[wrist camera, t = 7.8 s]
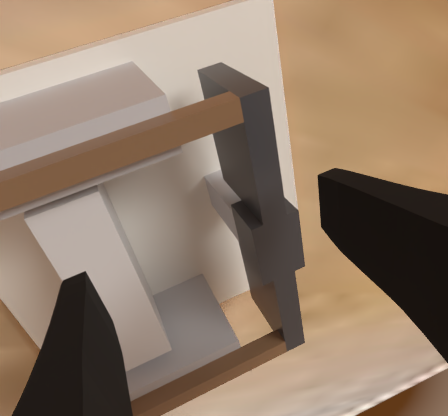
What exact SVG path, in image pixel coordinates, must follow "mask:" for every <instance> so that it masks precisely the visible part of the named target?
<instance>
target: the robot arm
mask: <svg viewBox="0 0 448 416" xmlns="http://www.w3.org/2000/svg"><path fill="white" fill-rule="evenodd" d="M318 187H319V202H320V217H321V227H322V229H323V230H324V231H325V233H326V234H327V235H328V236H329V238H330V239H331V240H332V242H333V243H334V244H335V245H336V246H337V247H338V249H339V250H340V251H341V252H342V253H343V254H344V255H345V256H346V257H347V258H348V259H349V260H350V261H351V262H353V263H354V264H355V265H356V266H357V267H358V268H359V269H360V270H361V271H362V272H363V273H364V274H365V275H366V276H368V277H369V278H370V279H371V280H372V281H373V282H374V283H375V284H376V285H377V286H378V287H379V288H381V289H382V290H383V291H384V292H385V293H386V294H387V295H388V296H389V297H390V298H391V299H392V300H393V301H394V302H395V303H396V304H397V305H398V306H399V307H400V308H401V309H402V310H403V311H404V312H405V313H406V314H407V315H408V317H409V318H410V319H411V320H412V321H413V322H414V323H415V325H416V326H417V327H418V328H419V329H420V330H421V331H422V333H423V334H424V335H425V336H426V337H427V339H428V340H429V341H430V342H431V343H432V345H433V346H434V347H435V348H436V349H437V351H438V352H439V353H440V354H441V355H442V357H443V358H444V359H445V360H446V362H447V363H448V195H447V194H442V193H437V192H432V191H427V190H422V189H418V188H414V187H409V186H405V185H401V184H397V183H393V182H389V181H386V180H382V179H378V178H374V177H370V176H367V175H363V174H359V173H355V172H351V171H347V170H343V169H337V168H334V169H331V170H329V171H326V172H324V173H321V174H319V175H318ZM12 416H133V413H132V407H131V401H130V395H129V389H128V383H127V377H126V371H125V365H124V359H123V354H122V350H121V346H120V343H119V339H118V336H117V333H116V329H115V326H114V323H113V320H112V318H111V316H110V314H109V312H108V311H107V309H106V307H105V305H104V303H103V302H102V300H101V298H100V296H99V294H98V292H97V291H96V289H95V287H94V285H93V283H92V282H91V280H90V278H89V276H88V274H87V273H86V271H84V272H82V273H79V274H77V275H75V276H72V277H70V278H67V279H65V280H63V281H62V283H61V286H60V289H59V293H58V297H57V300H56V304H55V307H54V311H53V314H52V317H51V321H50V324H49V327H48V330H47V333H46V335H45V338H44V341H43V344H42V347H41V350H40V353H39V355H38V358H37V360H36V363H35V365H34V367H33V370H32V372H31V375H30V377H29V380H28V382H27V384H26V387H25V389H24V391H23V393H22V396H21V398H20V400H19V402H18V404H17V406H16V408H15V410H14V412H13V414H12Z"/></svg>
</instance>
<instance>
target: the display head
mask: <svg viewBox="0 0 448 416" xmlns="http://www.w3.org/2000/svg"><path fill="white" fill-rule="evenodd" d="M220 62H222V63H224V64H226V65H228V66H229V67H231V68H233V69H235V70H237V71H239V72H241V73H243V74H244V75H246V76H248V77H250V78H252V79H254V80H256V81H258V82H260V83H261V84H263V85H265V86H267V87H269V92H270V99H271V106H272V113H273V120H274V128H275V135H276V142H277V149H278V156H279V163H280V170H281V177H282V184H283V192H284V197H285V198H286V199H287V200H288V201H289V202H290V203H291V204H292V205H293V206H294V207H295V208H297V209H298V205H297V196H296V188H295V180H294V171H293V163H292V155H291V146H290V138H289V130H288V121H287V113H286V105H285V96H284V88H283V80H282V71H281V63H280V54H279V46H278V38H277V29H276V21H275V13H274V4H273V0H233V1H229V2H226V3H223V4H219V5H216V6H213V7H209V8H206V9H203V10H199V11H196V12H193V13H189V14H186V15H183V16H179V17H176V18H173V19H169V20H166V21H163V22H159V23H156V24H153V25H149V26H146V27H143V28H139V29H136V30H133V31H129V32H126V33H123V34H119V35H116V36H113V37H109V38H106V39H103V40H99V41H96V42H93V43H89V44H86V45H83V46H79V47H76V48H73V49H69V50H66V51H63V52H59V53H56V54H53V55H49V56H46V57H43V58H39V59H36V60H33V61H29V62H26V63H23V64H19V65H16V66H13V67H9V68H6V69H3V70H0V171H2V170H4V169H7V168H10V167H13V166H16V165H19V164H22V163H25V162H27V161H30V160H33V159H36V158H39V157H42V156H45V155H48V154H50V153H53V152H56V151H59V150H62V149H65V148H68V147H71V146H73V145H76V144H79V143H82V142H85V141H88V140H91V139H93V138H96V137H99V136H102V135H105V134H108V133H111V132H114V131H116V130H119V129H122V128H125V127H128V126H131V125H134V124H137V123H139V122H142V121H145V120H148V119H151V118H154V117H157V116H160V115H162V114H165V113H168V112H171V111H174V110H177V109H180V108H182V107H185V106H188V105H191V104H194V103H197V102H200V101H203V100H204V96H203V92H202V88H201V84H200V79H199V75H198V71H197V70H199V69H202V68H205V67H208V66H211V65H214V64H217V63H220ZM238 201H241V199H240V198H239V197H238V196H237V194H236V193H235V192H234V191H233V190H232V189H231V188H230V186H229V185H228V184H227V183H226V182H225V181H224V179H223V175H222V171H221V167H220V163H219V159H218V154H217V150H216V146H215V142H214V138H213V134H210V135H208V136H205V137H202V138H200V139H197V140H194V141H191V142H189V143H186V144H183V145H181V146H178V147H175V148H172V149H170V150H167V151H164V152H162V153H159V154H156V155H153V156H151V157H148V158H145V159H142V160H140V161H137V162H134V163H132V164H129V165H126V166H123V167H121V168H118V169H115V170H113V171H110V172H107V173H104V174H102V175H99V176H96V177H94V178H91V179H88V180H85V181H83V182H80V183H77V184H75V185H72V186H69V187H66V188H64V189H61V190H58V191H56V192H53V193H50V194H47V195H45V196H42V197H39V198H37V199H34V200H31V201H28V202H26V203H23V204H20V205H18V206H15V207H12V208H9V209H7V210H4V211H1V212H0V299H1V300H2V301H3V302H4V304H5V305H6V306H7V308H8V309H9V310H10V311H11V313H12V314H13V315H14V317H15V318H16V319H17V320H18V322H19V323H20V324H21V326H22V327H23V328H24V329H25V331H26V332H27V333H28V335H29V336H30V337H31V338H32V340H33V341H34V342H35V344H36V345H37V346H38V347H39V349H40V350H41V347H42V344H43V341H44V338H45V335H46V333H47V330H48V327H49V324H50V321H51V317H52V314H53V311H54V307H55V304H56V300H57V297H58V293H59V289H60V286H61V283H62V281H63V280H65V279H67V278H70V277H72V276H75V275H77V274H79V273H82V272H84V271H86V273H87V274H88V276H89V278H90V280H91V282H92V283H93V285H94V287H95V289H96V291H97V292H98V294H99V296H100V298H101V300H102V302H103V303H104V305H105V307H106V309H107V311H108V312H109V314H110V316H111V318H112V320H113V323H114V326H115V329H116V333H117V336H118V339H119V343H120V346H121V350H122V354H123V359H124V365H125V371H126V377H127V383H128V389H129V395H130V401H133V400H135V399H137V398H139V397H141V396H143V395H145V394H147V393H149V392H151V391H153V390H155V389H157V388H159V387H161V386H163V385H165V384H167V383H169V382H171V381H173V380H175V379H177V378H179V377H182V376H184V375H186V374H188V373H190V372H192V371H194V370H196V369H198V368H200V367H202V366H204V365H206V364H208V363H210V362H212V361H214V360H216V359H218V358H220V357H222V356H224V355H226V354H228V353H230V352H232V351H234V350H237V349H239V348H241V347H240V343H239V340H238V338H237V337H236V335H235V333H234V331H233V329H232V327H231V325H230V324H229V322H228V320H227V318H226V316H225V314H224V313H223V311H222V309H221V307H220V305H219V304H220V303H222V302H224V301H226V300H228V299H230V298H233V297H235V296H237V295H239V294H241V293H243V292H246V291H248V290H250V288H249V284H248V279H247V275H246V271H245V267H244V263H243V259H242V254H241V250H240V246H239V243H240V242H238V241H239V238H238V234H237V230H236V225H235V221H234V217H233V213H232V209H231V204H234V203H236V202H238Z"/></svg>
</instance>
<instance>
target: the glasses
mask: <svg viewBox="0 0 448 416" xmlns="http://www.w3.org/2000/svg"><path fill="white" fill-rule="evenodd" d="M197 71H198V75H199V79H200V84H201V88H202V92H203V96H204V100H203V101H200V102H197V103H194V104H191V105H188V106H185V107H182V108H180V109H177V110H174V111H171V112H168V113H165V114H162V115H160V116H157V117H154V118H151V119H148V120H145V121H142V122H139V123H137V124H134V125H131V126H128V127H125V128H122V129H119V130H116V131H114V132H111V133H108V134H105V135H102V136H99V137H96V138H93V139H91V140H88V141H85V142H82V143H79V144H76V145H73V146H71V147H68V148H65V149H62V150H59V151H56V152H53V153H50V154H48V155H45V156H42V157H39V158H36V159H33V160H30V161H27V162H25V163H22V164H19V165H16V166H13V167H10V168H7V169H4V170H2V171H0V212H1V211H4V210H7V209H9V208H12V207H15V206H18V205H20V204H23V203H26V202H28V201H31V200H34V199H37V198H39V197H42V196H45V195H47V194H50V193H53V192H56V191H58V190H61V189H64V188H66V187H69V186H72V185H75V184H77V183H80V182H83V181H85V180H88V179H91V178H94V177H96V176H99V175H102V174H104V173H107V172H110V171H113V170H115V169H118V168H121V167H123V166H126V165H129V164H132V163H134V162H137V161H140V160H142V159H145V158H148V157H151V156H153V155H156V154H159V153H162V152H164V151H167V150H170V149H172V148H175V147H178V146H181V145H183V144H186V143H189V142H191V141H194V140H197V139H200V138H202V137H205V136H208V135H210V134H213V138H214V142H215V146H216V150H217V154H218V159H219V163H220V167H221V171H222V175H223V179H224V181H225V182H226V183H227V184H228V185H229V186H230V188H231V189H232V190H233V191H234V192H235V193H236V194H237V196H238V197H239V198H240V199H241V201H238V202H236V203H234V204H231V209H232V213H233V217H234V221H235V225H236V230H237V234H238V238H239V241H238V242H240V243H239V246H240V250H241V254H242V259H243V263H244V267H245V271H246V275H247V279H248V284H249V288H250V292H251V296H252V299H253V300H254V302H255V303H256V305H257V306H258V308H259V309H260V311H261V312H262V314H263V316H264V317H265V319H266V320H267V322H268V323H269V325H270V326H271V328H272V329H273V332H271V333H269V334H267V335H265V336H263V337H261V338H259V339H257V340H255V341H253V342H251V343H249V344H247V345H245V346H243V347H241V348H239V349H237V350H234V351H232V352H230V353H228V354H226V355H224V356H222V357H220V358H218V359H216V360H214V361H212V362H210V363H208V364H206V365H204V366H202V367H200V368H198V369H196V370H194V371H192V372H190V373H188V374H186V375H184V376H182V377H179V378H177V379H175V380H173V381H171V382H169V383H167V384H165V385H163V386H161V387H159V388H157V389H155V390H153V391H151V392H149V393H147V394H145V395H143V396H141V397H139V398H137V399H135V400H133V401H131V407H132V413H133V416H161V415H163V414H165V413H167V412H169V411H171V410H173V409H175V408H177V407H179V406H180V405H182V404H184V403H186V402H188V401H190V400H192V399H194V398H196V397H198V396H200V395H202V394H204V393H206V392H208V391H210V390H212V389H214V388H216V387H218V386H220V385H222V384H224V383H226V382H228V381H230V380H232V379H234V378H236V377H238V376H240V375H242V374H244V373H246V372H248V371H250V370H252V369H254V368H256V367H258V366H260V365H262V364H263V363H265V362H267V361H269V360H271V359H273V358H275V357H277V356H279V355H281V354H283V353H285V352H287V351H289V350H291V349H293V348H295V347H297V346H299V345H301V344H303V343H305V341H304V334H303V327H302V319H301V312H300V305H299V298H298V291H297V284H296V277H295V271H296V270H298V269H300V268H302V267H304V266H305V262H304V254H303V245H302V237H301V228H300V220H299V212H298V209H297V208H295V207H294V206H293V205H292V204H291V203H290V202H289V201H288V200H287V199H286V198H285V197H284V192H283V184H282V177H281V170H280V163H279V156H278V149H277V142H276V135H275V128H274V120H273V113H272V106H271V99H270V92H269V87H267V86H265V85H263V84H261V83H260V82H258V81H256V80H254V79H252V78H250V77H248V76H246V75H244V74H243V73H241V72H239V71H237V70H235V69H233V68H231V67H229V66H228V65H226V64H224V63H222V62H220V63H217V64H214V65H211V66H208V67H205V68H202V69H199V70H197Z"/></svg>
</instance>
